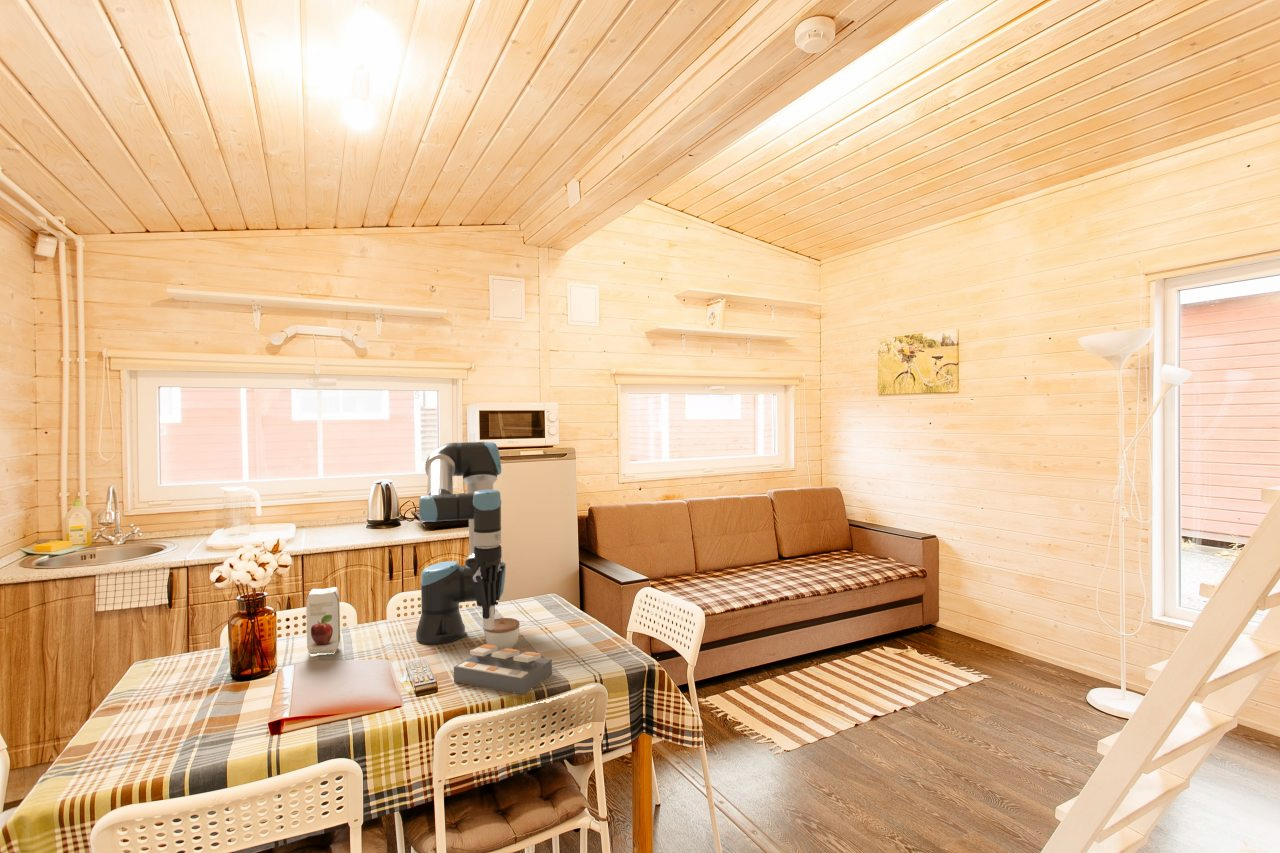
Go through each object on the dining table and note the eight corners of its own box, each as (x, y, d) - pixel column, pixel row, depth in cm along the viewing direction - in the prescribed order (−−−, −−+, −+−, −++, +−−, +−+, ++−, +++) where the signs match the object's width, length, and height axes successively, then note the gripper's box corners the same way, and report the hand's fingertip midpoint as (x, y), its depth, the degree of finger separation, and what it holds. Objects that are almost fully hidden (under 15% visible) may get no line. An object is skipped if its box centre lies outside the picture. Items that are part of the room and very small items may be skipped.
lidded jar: (526, 647, 193) (526, 617, 193) (497, 658, 185) (496, 626, 185) (506, 639, 200) (506, 610, 200) (477, 649, 192) (476, 618, 192)
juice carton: (310, 649, 193) (309, 588, 193) (341, 646, 196) (340, 585, 196) (306, 658, 186) (304, 595, 186) (337, 655, 189) (336, 592, 188)
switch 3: (513, 660, 167) (513, 655, 167) (527, 655, 173) (527, 651, 173) (527, 662, 165) (527, 658, 165) (541, 657, 171) (541, 653, 172)
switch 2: (491, 656, 170) (491, 652, 170) (505, 652, 176) (506, 647, 176) (505, 658, 168) (505, 654, 168) (519, 654, 174) (519, 650, 174)
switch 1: (470, 654, 172) (470, 649, 172) (485, 648, 178) (485, 643, 179) (483, 656, 171) (483, 652, 171) (498, 650, 177) (498, 645, 177)
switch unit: (453, 681, 169) (453, 662, 169) (485, 662, 182) (485, 644, 182) (523, 694, 160) (523, 674, 160) (551, 673, 173) (551, 655, 173)
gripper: (484, 551, 169) (485, 638, 170) (512, 541, 181) (513, 622, 182) (461, 549, 172) (463, 634, 173) (490, 539, 184) (491, 619, 185)
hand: (488, 628), depth 177 cm, fingers closed
